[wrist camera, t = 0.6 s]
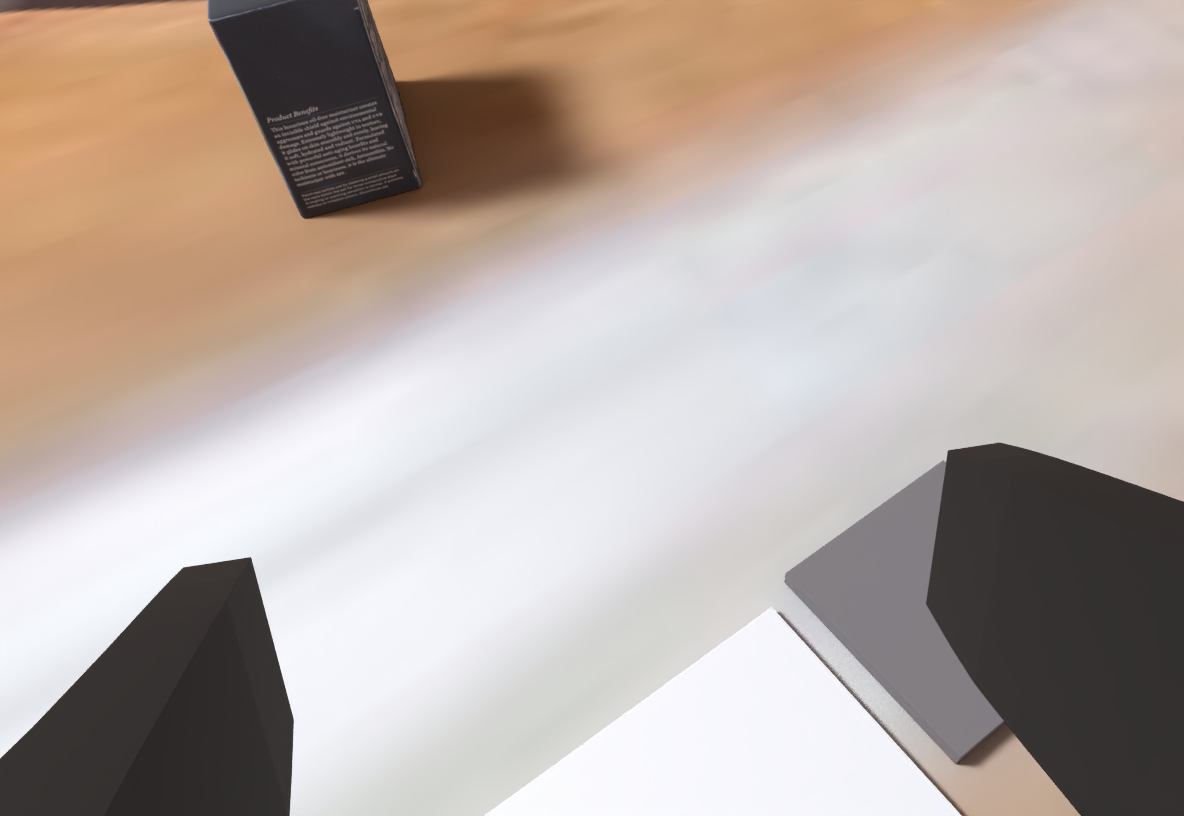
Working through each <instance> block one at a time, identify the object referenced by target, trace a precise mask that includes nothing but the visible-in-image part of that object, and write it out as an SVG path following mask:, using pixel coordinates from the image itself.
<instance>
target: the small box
mask: <svg viewBox="0 0 1184 816" xmlns="http://www.w3.org/2000/svg"><path fill="white" fill-rule="evenodd" d="M208 22H209V23H210V25H211V27H212V29H213V32H214V34H215V36H216V38H217V40H218V42H219V44H220V46H221V49H222V51H223V53H224V55H225V57H226V59H227V61H228V63H229V65H230V67H231V70H232V72H233V74H234V76H235V78H236V80H237V82H238V85H239V87H240V89H241V91H242V93H243V95H244V97H245V99H246V101H247V103H248V105H249V107H250V109H251V112H252V114H253V116H254V118H255V120H256V122H257V124H258V126H259V128H260V130H261V133H262V135H263V137H264V139H265V141H266V143H267V145H268V147H269V150H270V152H271V154H272V156H273V158H274V160H275V162H276V164H277V166H278V168H279V171H280V173H281V175H282V177H283V179H284V181H285V183H286V185H287V187H288V190H289V192H290V194H291V196H292V198H293V200H294V202H295V204H296V206H297V208H298V210H299V212H300V214H301V216H302V217H303V218H308V217H313V216H316V215H320V214H324V213H328V212H332V211H335V210H339V209H343V208H347V207H350V206H354V205H358V204H362V203H366V202H370V201H373V200H377V199H380V198H384V197H388V196H391V195H395V194H399V193H403V192H407V191H410V190H414V189H417V188H419V187H421V185H422V181H421V178H420V174H419V169H418V166H417V162H416V158H415V155H414V150H413V144H412V142H411V139H410V134H409V131H408V127H407V123H406V119H405V114H404V109H403V108H402V103H401V100H400V94H399V92H398V90H397V87H396V83H395V78H394V76H393V73H392V70H391V68H390V65H389V61H388V58H387V56H386V53H385V50H384V48H383V45H382V42H381V39H380V36H379V33H378V31H377V28H376V24H375V21H374V19H373V16H372V13H371V10H370V7H369V4H368V1H367V0H208Z"/></svg>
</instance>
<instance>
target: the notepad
mask: <svg viewBox="0 0 1184 816" xmlns="http://www.w3.org/2000/svg"><path fill="white" fill-rule="evenodd" d="M484 816H962V815H961V814H960V813H959V812H958V811H957V810H956V809H955V808H954V807H953V806H952V804H951V803H950V802H949V801H948V800H947V799H946V798H945V797H944V796H943V795H942V793H941V792H940V791H939V790H938V789H937V788H936V787H935V786H934V785H933V784H932V782H931V781H930V780H929V779H928V778H927V777H926V776H925V775H924V774H923V773H922V771H921V770H920V769H919V768H918V767H917V766H916V765H915V764H914V763H913V762H912V760H911V759H910V758H909V757H908V756H907V755H906V754H905V753H904V752H903V751H902V749H901V748H900V747H899V746H898V745H897V744H896V743H895V742H894V741H893V740H892V738H891V737H890V736H889V735H888V734H887V733H886V732H885V731H884V730H883V729H882V728H881V726H880V725H879V724H878V723H877V722H876V721H875V720H874V719H873V718H872V717H871V715H870V714H869V713H868V712H867V711H866V710H865V709H864V708H863V707H862V706H861V704H860V703H859V702H858V701H857V700H856V699H855V698H854V697H853V696H852V695H851V693H850V692H849V691H848V690H847V689H846V688H845V687H844V686H843V685H842V684H841V682H840V681H839V680H838V679H837V678H836V677H835V676H834V675H833V674H832V673H831V671H830V670H829V669H828V668H827V667H826V666H825V665H824V664H823V663H822V662H821V660H820V659H819V658H818V657H817V656H816V655H815V654H814V653H813V652H812V651H811V649H810V648H809V647H808V646H807V645H806V644H805V643H804V642H803V641H802V640H801V638H800V637H799V636H798V635H797V634H796V633H795V632H794V631H793V630H792V629H791V627H790V626H789V625H788V624H787V623H786V622H785V621H784V620H783V619H782V618H781V616H780V615H779V614H778V613H777V612H776V611H775V610H774V609H773V608H772V607H771V608H769V609H768V610H767V611H765V612H764V613H762V614H761V615H760V616H758V617H757V618H756V619H754V620H753V621H751V622H750V623H749V624H747V625H746V626H744V627H743V628H742V629H740V630H739V631H738V632H736V633H735V634H733V635H732V636H731V637H729V638H728V639H727V640H725V641H724V642H722V643H721V644H720V645H718V646H717V647H716V648H714V649H713V650H711V651H710V652H709V653H707V654H706V655H705V656H703V657H702V658H700V659H699V660H698V661H696V662H695V663H694V664H692V665H691V666H689V667H688V668H687V669H685V670H684V671H683V672H681V673H680V674H678V675H677V676H676V677H674V678H673V679H672V680H670V681H669V682H667V683H666V684H665V685H663V686H662V687H661V688H659V689H658V690H656V691H655V692H654V693H652V694H651V695H650V696H648V697H647V698H645V699H644V700H643V701H641V702H640V703H639V704H637V705H636V706H634V707H633V708H632V709H630V710H629V711H628V712H626V713H625V714H623V715H622V716H621V717H619V718H618V719H617V720H615V721H614V722H612V723H611V724H610V725H608V726H607V727H606V728H604V729H603V730H601V731H600V732H599V733H597V734H596V735H594V736H593V737H592V738H590V739H589V740H588V741H586V742H585V743H583V744H582V745H581V746H579V747H578V748H577V749H575V750H574V751H572V752H571V753H570V754H568V755H567V756H566V757H564V758H563V759H561V760H560V761H559V762H557V763H556V764H555V765H553V766H552V767H550V768H549V769H548V770H546V771H545V772H544V773H542V774H541V775H539V776H538V777H537V778H535V779H534V780H533V781H531V782H530V783H528V784H527V785H526V786H524V787H523V788H522V789H520V790H519V791H517V792H516V793H515V794H513V795H512V796H511V797H509V798H508V799H506V800H505V801H504V802H502V803H501V804H500V805H498V806H497V807H495V808H494V809H493V810H491V811H490V812H489V813H487V814H486V815H484Z"/></svg>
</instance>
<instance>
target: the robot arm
mask: <svg viewBox="0 0 1184 816" xmlns="http://www.w3.org/2000/svg"><path fill="white" fill-rule="evenodd" d="M926 605H927V607H928V609H929V610H930V612H931V614H932V615H933V617H934V619H935V621H936V622H937V624H938V626H939V627H940V629H941V631H942V633H943V634H944V636H945V638H946V639H947V641H948V643H949V645H950V646H951V648H952V650H953V651H954V653H955V654H956V656H957V657H958V659H959V661H960V662H961V664H962V665H963V667H964V668H965V670H966V672H967V673H968V675H969V676H970V678H971V679H972V681H973V682H974V684H975V685H976V686H977V688H978V689H979V690H980V692H981V693H982V694H983V695H984V697H985V698H986V699H987V701H988V702H989V703H990V704H991V706H992V707H993V708H994V709H995V711H996V712H997V713H998V714H999V716H1000V717H1001V718H1002V719H1003V721H1004V722H1005V723H1006V724H1007V726H1008V727H1009V728H1010V729H1011V731H1012V732H1013V733H1014V734H1015V736H1016V737H1017V738H1018V739H1019V741H1020V742H1021V743H1022V744H1023V746H1024V747H1025V748H1026V749H1027V750H1028V752H1029V753H1030V754H1031V755H1032V756H1033V758H1034V759H1035V760H1036V761H1037V763H1038V764H1039V765H1040V766H1041V767H1042V769H1043V770H1044V771H1045V772H1046V774H1047V775H1048V776H1049V777H1050V778H1051V780H1052V781H1053V782H1054V783H1055V785H1056V786H1057V787H1058V788H1059V789H1060V791H1061V792H1062V793H1063V794H1064V796H1065V797H1066V798H1067V799H1068V800H1069V802H1070V803H1071V804H1072V805H1073V806H1074V808H1075V809H1076V810H1077V811H1078V813H1079V814H1080V815H1081V816H1184V502H1183V501H1180V500H1177V499H1174V498H1171V497H1168V496H1165V495H1163V494H1160V493H1157V492H1154V491H1151V490H1148V489H1146V488H1143V487H1140V486H1137V485H1134V484H1131V483H1128V482H1125V481H1123V480H1120V479H1117V478H1114V477H1111V476H1108V475H1105V474H1103V473H1100V472H1097V471H1094V470H1091V469H1088V468H1085V467H1082V466H1079V465H1076V464H1073V463H1070V462H1067V461H1064V460H1061V459H1058V458H1055V457H1051V456H1048V455H1045V454H1041V453H1038V452H1035V451H1031V450H1027V449H1024V448H1020V447H1016V446H1012V445H1007V444H1003V443H994V444H988V445H981V446H975V447H968V448H962V449H955V450H948V454H947V461H946V468H945V475H944V482H943V489H942V496H941V503H940V510H939V516H938V523H937V530H936V537H935V544H934V551H933V558H932V565H931V572H930V579H929V586H928V593H927V600H926ZM293 725H294V719H293V715H292V712H291V708H290V704H289V700H288V696H287V693H286V689H285V685H284V681H283V677H282V673H281V670H280V666H279V662H278V658H277V654H276V651H275V647H274V643H273V639H272V635H271V632H270V628H269V624H268V620H267V616H266V613H265V609H264V605H263V601H262V597H261V594H260V590H259V586H258V582H257V578H256V575H255V571H254V567H253V563H252V559H251V557H250V558H243V559H236V560H230V561H223V562H217V563H210V564H204V565H197V566H191V567H184V568H183V569H181V570H180V571H179V572H178V573H177V574H176V575H175V576H174V577H173V578H172V579H171V580H170V581H169V582H168V583H167V585H166V586H165V587H164V588H163V589H162V590H161V591H160V592H159V593H158V594H157V595H156V596H155V597H154V598H153V599H152V600H151V602H150V603H149V604H148V605H147V606H146V607H145V608H144V609H143V610H142V611H141V612H140V614H139V615H138V616H137V617H136V618H135V619H134V620H133V621H132V622H131V623H130V624H129V626H128V627H127V628H126V629H125V630H124V631H123V632H122V633H121V634H120V635H119V636H118V637H117V639H116V640H115V641H114V642H113V643H112V644H111V645H110V646H109V647H108V648H107V649H106V651H105V652H104V653H103V654H102V655H101V656H100V657H99V658H98V659H97V660H96V661H95V662H94V663H93V664H92V665H91V666H90V667H89V669H88V670H87V671H86V672H85V673H84V674H83V675H82V676H81V677H80V678H79V679H78V680H77V681H76V682H75V683H74V684H73V685H72V686H71V687H70V689H69V690H68V691H67V692H66V693H65V694H64V695H63V696H62V697H61V698H60V699H59V700H58V701H57V702H56V703H55V704H54V705H53V706H52V707H51V709H50V710H49V711H48V712H47V713H46V714H45V715H44V716H43V717H42V718H41V719H40V720H39V721H38V722H37V723H36V724H35V725H34V726H33V727H32V728H31V729H30V730H29V731H28V732H27V733H26V734H25V735H24V736H23V737H22V738H21V739H20V740H19V741H18V742H17V743H16V744H15V745H14V746H13V747H12V748H11V749H10V750H9V751H8V752H7V753H6V754H5V755H4V756H2V757H1V758H0V816H289V815H290V796H291V778H292V752H293Z"/></svg>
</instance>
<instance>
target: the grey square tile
mask: <svg viewBox="0 0 1184 816" xmlns="http://www.w3.org/2000/svg"><path fill="white" fill-rule="evenodd" d="M945 468H946V462H945V461H942V462H940V463H939V464H938V465H936V466H935V467H933V468H932V469H931V470H929V471H928V472H926V473H925V474H924V475H922V476H921V477H919V478H918V479H917V480H915V481H914V482H912V483H911V484H910V485H908V486H907V487H905V488H904V489H903V490H901V491H900V492H898V493H897V494H896V495H894V496H893V497H892V498H890V499H889V500H887V501H886V502H885V503H883V504H882V505H880V506H879V507H878V508H876V509H875V510H873V511H872V512H871V513H869V514H868V515H866V516H865V517H864V518H862V519H861V520H859V521H858V522H857V523H855V524H854V525H852V526H851V527H850V528H848V529H847V530H846V531H844V532H843V533H841V534H840V535H839V536H837V537H836V538H834V539H833V540H832V541H830V542H829V543H827V544H826V545H825V546H823V547H822V548H820V549H819V550H818V551H816V552H815V553H813V554H812V555H811V556H809V557H808V558H806V559H805V560H804V561H802V562H801V563H799V564H798V565H797V566H795V567H794V568H793V569H791V570H790V571H788V572H787V573H786V575H785V583H786V584H787V585H788V586H789V587H790V588H791V589H792V591H793V592H794V593H795V594H796V595H797V596H798V597H799V598H800V599H801V600H802V601H803V602H804V603H805V604H806V605H807V606H808V608H809V609H810V610H811V611H812V612H813V613H814V614H815V615H816V616H817V617H818V618H819V619H820V620H821V621H822V622H823V624H824V625H825V626H826V627H827V628H828V629H829V630H830V631H831V632H832V633H833V634H834V635H835V636H836V637H837V638H838V639H839V641H840V642H841V643H842V644H843V645H844V646H845V647H846V648H847V649H848V650H849V651H850V652H851V653H852V654H853V655H854V656H855V658H856V659H857V660H858V661H859V662H860V663H861V664H862V665H863V666H864V667H865V668H866V669H867V670H868V671H869V672H870V673H871V675H872V676H873V677H874V678H875V679H876V680H877V681H878V682H879V683H880V684H881V685H882V686H883V687H884V688H885V689H886V690H887V692H888V693H889V694H890V695H891V696H892V697H893V698H894V699H895V700H896V701H897V702H898V703H899V704H900V705H901V706H902V707H903V709H904V710H905V711H906V712H907V713H908V714H909V715H910V716H911V717H912V718H913V719H914V720H915V721H916V722H917V723H918V724H919V726H920V727H921V728H922V729H923V730H924V731H925V732H926V733H927V734H928V735H929V736H930V737H931V738H932V739H933V740H934V742H935V743H936V744H937V745H938V746H939V747H940V748H941V749H942V750H943V751H944V752H945V753H946V754H947V755H948V756H949V757H950V759H951V760H952V761H953V762H954V763H955V764H956V763H958V762H959V761H960V760H961V759H962V758H963V757H965V756H966V755H967V754H968V753H969V752H970V751H972V750H973V749H974V748H975V747H976V746H977V745H979V744H980V743H981V742H982V741H983V740H984V739H986V738H987V737H988V736H989V735H990V734H992V733H993V732H994V731H995V730H996V729H997V728H999V727H1000V726H1001V725H1002V724H1003V723H1004V721H1003V719H1002V718H1001V717H1000V716H999V714H998V713H997V712H996V711H995V709H994V708H993V707H992V706H991V704H990V703H989V702H988V701H987V699H986V698H985V697H984V695H983V694H982V693H981V692H980V690H979V689H978V688H977V686H976V685H975V684H974V682H973V681H972V679H971V678H970V676H969V675H968V673H967V672H966V670H965V668H964V667H963V665H962V664H961V662H960V661H959V659H958V657H957V656H956V654H955V653H954V651H953V650H952V648H951V646H950V645H949V643H948V641H947V639H946V638H945V636H944V634H943V633H942V631H941V629H940V627H939V626H938V624H937V622H936V621H935V619H934V617H933V615H932V614H931V612H930V610H929V609H928V607H927V605H926V600H927V593H928V586H929V579H930V572H931V565H932V558H933V551H934V544H935V537H936V530H937V523H938V516H939V510H940V503H941V496H942V489H943V482H944V475H945Z"/></svg>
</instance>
